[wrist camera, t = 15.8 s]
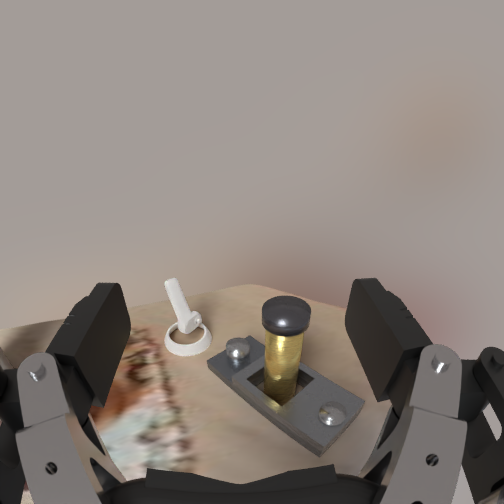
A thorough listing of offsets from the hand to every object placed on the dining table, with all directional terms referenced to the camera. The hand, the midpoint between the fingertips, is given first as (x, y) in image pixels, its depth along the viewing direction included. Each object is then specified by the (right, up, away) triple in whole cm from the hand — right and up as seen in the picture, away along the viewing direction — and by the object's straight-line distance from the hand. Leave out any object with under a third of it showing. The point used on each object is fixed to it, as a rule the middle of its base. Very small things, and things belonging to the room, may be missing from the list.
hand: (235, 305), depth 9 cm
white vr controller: (-10, -12, +34) cm, 37 cm away
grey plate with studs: (+4, -16, +24) cm, 30 cm away
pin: (+4, -17, +24) cm, 29 cm away
